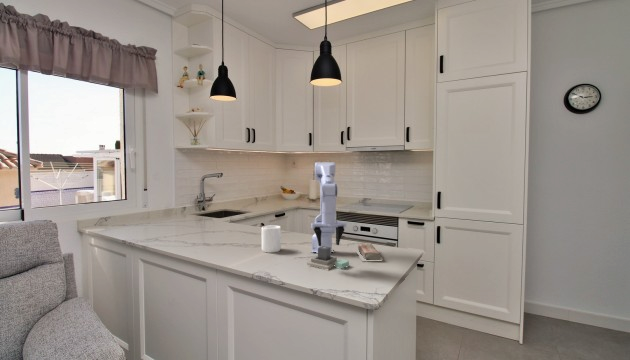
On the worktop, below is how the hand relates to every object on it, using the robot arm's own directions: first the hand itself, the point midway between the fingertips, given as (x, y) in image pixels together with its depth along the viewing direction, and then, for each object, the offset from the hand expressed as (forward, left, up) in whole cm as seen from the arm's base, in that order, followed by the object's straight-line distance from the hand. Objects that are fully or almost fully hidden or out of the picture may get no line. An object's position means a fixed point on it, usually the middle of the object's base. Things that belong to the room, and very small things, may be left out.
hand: (328, 245), depth 126 cm
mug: (-38, +6, -10) cm, 40 cm away
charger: (-4, +3, -8) cm, 10 cm away
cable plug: (+4, +4, -10) cm, 12 cm away
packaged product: (+7, +25, -10) cm, 28 cm away
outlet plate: (-4, +3, -10) cm, 11 cm away
